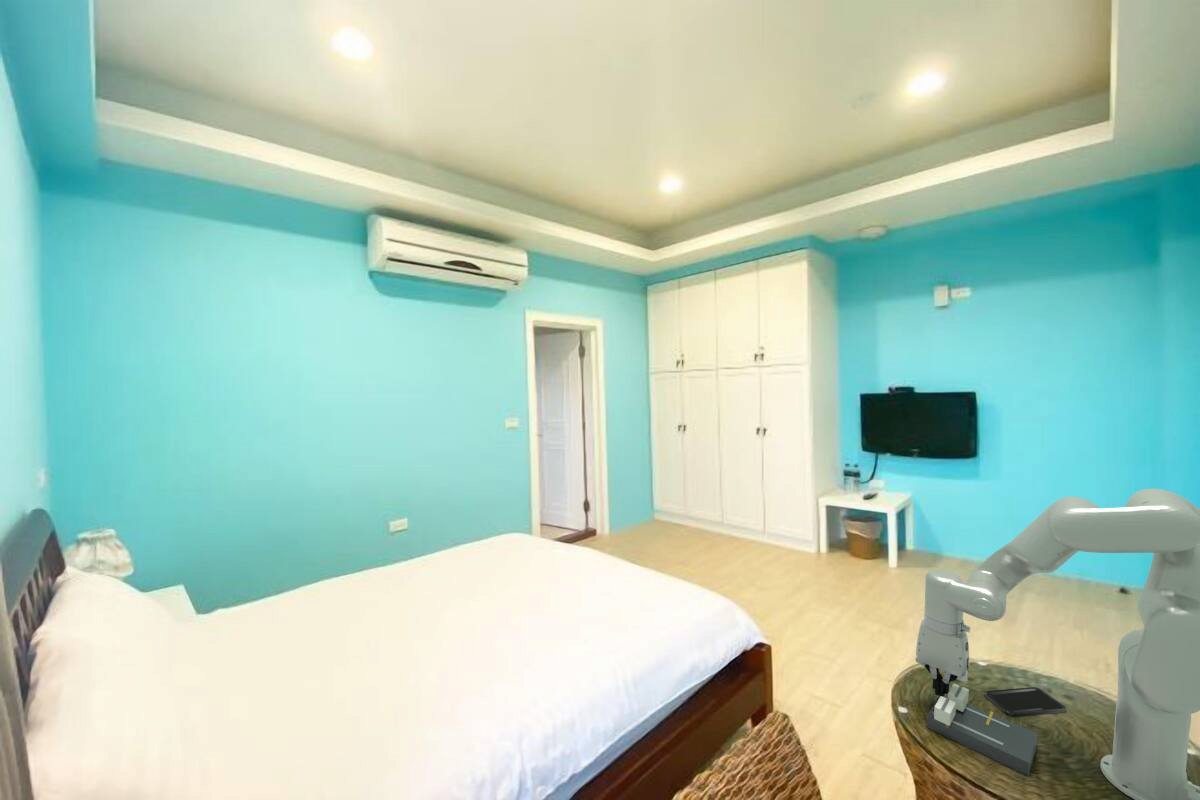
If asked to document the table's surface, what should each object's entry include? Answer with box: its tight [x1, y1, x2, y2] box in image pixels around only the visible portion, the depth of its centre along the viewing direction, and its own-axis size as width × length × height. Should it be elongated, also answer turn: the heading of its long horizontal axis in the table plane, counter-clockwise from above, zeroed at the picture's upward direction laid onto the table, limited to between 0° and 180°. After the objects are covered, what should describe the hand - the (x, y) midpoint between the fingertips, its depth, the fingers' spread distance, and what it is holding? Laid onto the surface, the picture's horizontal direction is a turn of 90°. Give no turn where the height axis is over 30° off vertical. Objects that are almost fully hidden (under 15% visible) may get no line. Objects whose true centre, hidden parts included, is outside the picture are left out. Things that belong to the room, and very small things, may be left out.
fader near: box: [934, 696, 956, 726], centre depth 112 cm, size 3×5×3 cm, turn 132°
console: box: [926, 694, 1038, 777], centre depth 110 cm, size 18×13×3 cm
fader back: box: [947, 683, 970, 712], centre depth 116 cm, size 3×5×3 cm, turn 132°
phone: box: [983, 686, 1067, 718], centre depth 120 cm, size 8×1×15 cm
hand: (940, 693), depth 118 cm, fingers closed
